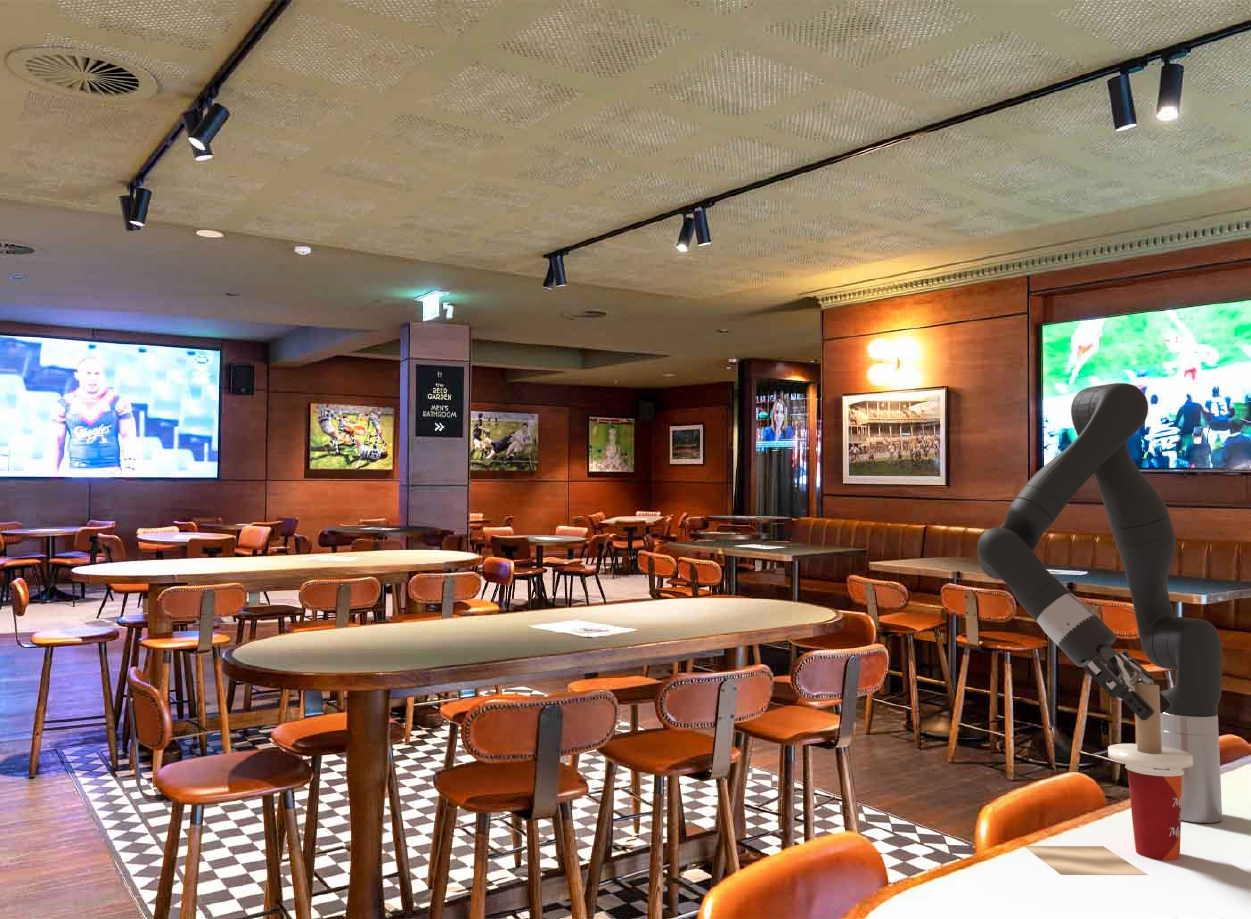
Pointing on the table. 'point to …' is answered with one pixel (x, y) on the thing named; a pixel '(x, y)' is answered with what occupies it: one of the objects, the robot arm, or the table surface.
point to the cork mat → (1084, 860)
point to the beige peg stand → (1150, 739)
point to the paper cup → (1156, 811)
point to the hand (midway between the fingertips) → (1158, 713)
